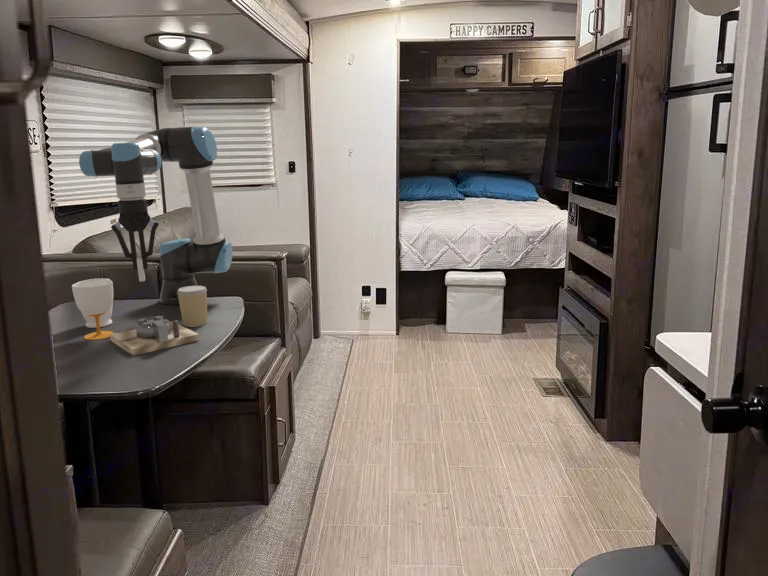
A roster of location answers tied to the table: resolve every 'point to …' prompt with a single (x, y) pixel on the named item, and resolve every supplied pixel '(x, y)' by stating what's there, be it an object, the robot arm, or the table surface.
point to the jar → (103, 318)
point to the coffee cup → (193, 305)
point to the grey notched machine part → (154, 328)
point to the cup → (94, 302)
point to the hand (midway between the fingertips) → (142, 280)
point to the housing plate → (153, 340)
